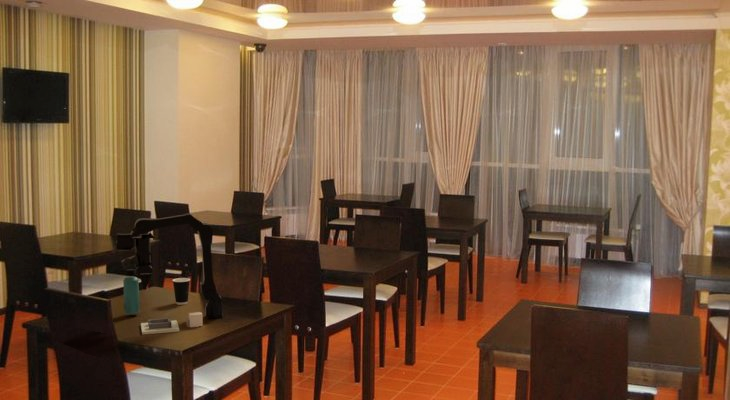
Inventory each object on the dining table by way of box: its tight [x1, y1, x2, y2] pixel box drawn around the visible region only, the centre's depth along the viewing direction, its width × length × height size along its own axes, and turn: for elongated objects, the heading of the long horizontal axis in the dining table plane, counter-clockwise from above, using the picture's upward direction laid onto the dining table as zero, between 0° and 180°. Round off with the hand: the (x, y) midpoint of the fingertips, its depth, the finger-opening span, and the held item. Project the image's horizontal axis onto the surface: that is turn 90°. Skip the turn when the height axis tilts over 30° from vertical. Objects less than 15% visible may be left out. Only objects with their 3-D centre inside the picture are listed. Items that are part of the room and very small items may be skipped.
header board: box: [140, 317, 180, 336], centre depth 299 cm, size 14×14×3 cm
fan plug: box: [186, 311, 204, 328], centre depth 303 cm, size 6×4×5 cm, turn 108°
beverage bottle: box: [122, 268, 141, 315], centre depth 318 cm, size 6×7×20 cm
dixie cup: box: [171, 277, 191, 306], centre depth 341 cm, size 8×8×11 cm
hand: (144, 287), depth 307 cm, fingers open, 9 cm apart
